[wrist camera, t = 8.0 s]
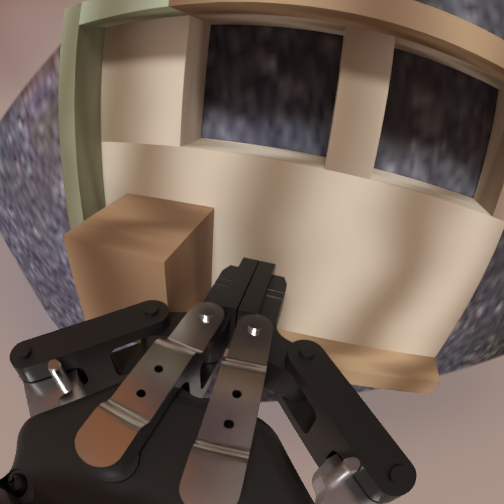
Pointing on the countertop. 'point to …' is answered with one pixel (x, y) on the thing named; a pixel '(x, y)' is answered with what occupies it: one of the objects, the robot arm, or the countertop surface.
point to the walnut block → (142, 255)
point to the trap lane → (292, 169)
